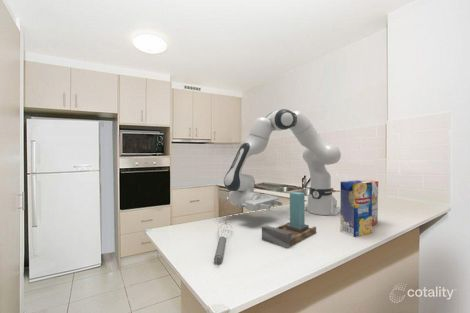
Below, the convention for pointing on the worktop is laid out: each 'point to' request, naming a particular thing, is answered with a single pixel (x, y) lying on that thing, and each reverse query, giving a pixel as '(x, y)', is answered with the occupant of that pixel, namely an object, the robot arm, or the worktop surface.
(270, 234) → the track
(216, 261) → the kitchen whisk
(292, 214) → the teal block on base
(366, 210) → the beverage box
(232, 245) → the worktop surface
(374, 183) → the cracker box
